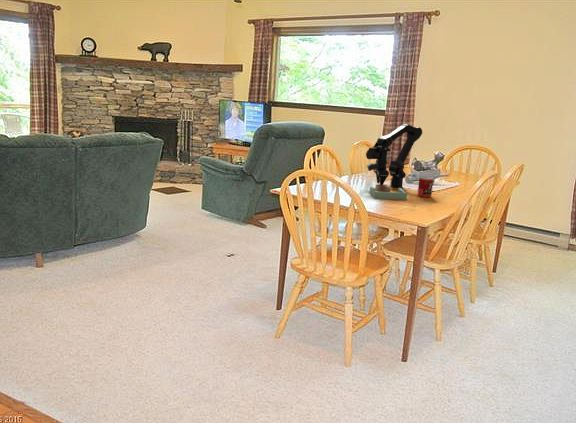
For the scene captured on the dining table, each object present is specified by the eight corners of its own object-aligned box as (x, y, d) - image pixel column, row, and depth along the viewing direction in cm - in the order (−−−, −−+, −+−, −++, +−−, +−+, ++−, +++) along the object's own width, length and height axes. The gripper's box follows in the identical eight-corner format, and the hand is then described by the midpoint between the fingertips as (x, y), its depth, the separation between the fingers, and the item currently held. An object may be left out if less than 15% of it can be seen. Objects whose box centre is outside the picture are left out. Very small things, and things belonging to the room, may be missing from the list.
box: (400, 194, 304) (401, 188, 303) (406, 199, 290) (407, 193, 289) (369, 192, 303) (369, 186, 302) (373, 198, 289) (374, 192, 288)
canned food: (423, 198, 296) (426, 178, 293) (414, 195, 303) (416, 176, 300) (434, 197, 299) (436, 178, 297) (424, 194, 306) (426, 175, 304)
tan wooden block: (386, 190, 313) (387, 185, 312) (389, 193, 306) (390, 187, 305) (375, 190, 312) (375, 184, 311) (377, 193, 306) (378, 187, 305)
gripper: (365, 156, 324) (363, 181, 327) (371, 160, 306) (368, 187, 309) (384, 156, 324) (381, 181, 328) (390, 161, 306) (387, 187, 310)
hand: (379, 184), depth 319 cm, fingers open, 9 cm apart
